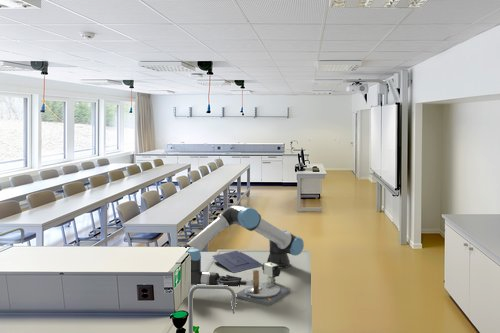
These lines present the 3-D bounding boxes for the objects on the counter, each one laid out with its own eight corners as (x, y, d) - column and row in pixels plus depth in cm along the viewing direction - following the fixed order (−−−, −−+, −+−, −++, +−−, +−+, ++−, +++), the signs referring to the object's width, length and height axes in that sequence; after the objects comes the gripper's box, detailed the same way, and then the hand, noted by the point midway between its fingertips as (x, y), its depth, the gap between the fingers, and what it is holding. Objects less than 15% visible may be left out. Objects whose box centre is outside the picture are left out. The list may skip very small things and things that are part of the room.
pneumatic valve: (274, 286, 251) (274, 265, 250) (262, 280, 260) (261, 261, 259) (282, 283, 255) (281, 263, 254) (269, 278, 264) (268, 259, 263)
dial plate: (256, 284, 254) (256, 281, 254) (289, 291, 242) (289, 288, 242) (234, 297, 236) (234, 293, 236) (269, 305, 224) (269, 302, 224)
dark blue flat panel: (238, 253, 313) (238, 249, 313) (263, 269, 289) (264, 264, 289) (209, 260, 299) (209, 255, 298) (233, 277, 275) (233, 271, 275)
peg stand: (253, 283, 251) (253, 259, 250) (284, 288, 243) (284, 263, 242) (239, 295, 234) (238, 269, 233) (271, 300, 226) (271, 274, 225)
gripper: (214, 282, 243) (255, 286, 236) (206, 290, 230) (249, 294, 224) (214, 269, 242) (255, 272, 236) (206, 276, 230) (249, 280, 223)
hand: (252, 283), depth 230 cm, fingers closed
